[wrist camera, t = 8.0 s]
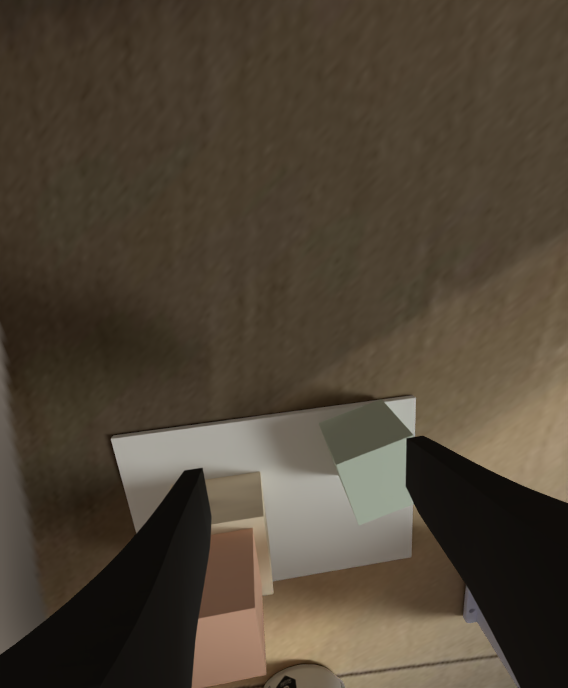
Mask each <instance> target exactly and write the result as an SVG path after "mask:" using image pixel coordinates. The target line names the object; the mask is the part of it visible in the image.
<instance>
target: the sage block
mask: <svg viewBox="0 0 568 688" xmlns="http://www.w3.org/2000/svg"><path fill="white" fill-rule="evenodd" d="M319 425H320V428H321V431H322V433H323V436H324V439H325V441H326V444H327V447H328V449H329V452H330V455H331V457H332V460H333V462H334V465H335V468H336V470H337V473H338V476H339V478H340V481H341V483H342V485H343V488H344V490H345V493H346V495H347V498H348V500H349V503H350V505H351V507H352V510H353V512H354V515H355V517H356V520H357V522H358V525H362V524H364V523H367V522H369V521H372V520H374V519H377V518H380V517H382V516H385V515H387V514H390V513H392V512H395V511H398V510H400V509H403V508H405V507H408V506H411V505H413V504H414V503H413V501H412V499H411V496H410V494H409V492H408V490H407V488H406V438H411V437H414V435H413V434H412V433H411V432H410V430H409V429H408V428H407V427H406V426H405V425H404V424H403V423H402V421H401V420H400V419H399V418H398V417H397V416H396V415H395V414H394V412H393V411H392V410H391V409H390V408H389V407H388V406H387V405H386V403H385V402H384V401H383V400H382V399H380V400H377V401H375V402H372V403H369V404H367V405H364V406H362V407H359V408H357V409H354V410H351V411H349V412H346V413H344V414H341V415H338V416H336V417H333V418H331V419H328V420H325V421H323V422H320V423H319Z"/></svg>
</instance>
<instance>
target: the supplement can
mask: <svg viewBox="0 0 568 688" xmlns="http://www.w3.org/2000/svg"><path fill="white" fill-rule="evenodd" d="M264 688H345V686H344V683H343V681H342V680H341V679H339V678H338V677H337V676H336V675H335V674H334V673H332V672H331V671H330V670H329V669H327V668H325V667H322V666H319V665H316V664H301V665H296V666H292V667H288V668H286V669H284V670H282V671H280V672H278V673H276V674H275V675H274V676H273V677H272V678H270V679H269V680H268V681H267V682H266V684H265V686H264Z"/></svg>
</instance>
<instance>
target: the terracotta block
mask: <svg viewBox="0 0 568 688" xmlns="http://www.w3.org/2000/svg"><path fill="white" fill-rule="evenodd" d="M263 675H267V673H266V654H265V635H264V616H263V597H262V583H261V577H260V571H259V565H258V558H257V552H256V546H255V540H254V534H253V528H249V529H243V530H238V531H232V532H226V533H220V534H214V535H211V542H210V552H209V558H208V564H207V570H206V576H205V582H204V588H203V594H202V600H201V606H200V612H199V618H198V625H197V633H196V640H195V652H194V664H193V677H192V688H205V687H210V686H215V685H220V684H224V683H229V682H234V681H239V680H244V679H249V678H253V677H258V676H263Z"/></svg>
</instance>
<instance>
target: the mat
mask: <svg viewBox="0 0 568 688" xmlns="http://www.w3.org/2000/svg"><path fill="white" fill-rule="evenodd" d="M382 400H383V401H384V402H385V403H386V405H387V406H388V407H389V408H390V409H391V410H392V411H393V412H394V414H395V415H396V416H397V417H398V418H399V419H400V420H401V421H402V423H403V424H404V425H405V426H406V427H407V428H408V429H409V430H410V432H411V433H412V434H413V435H414V437H415V410H416V397H415V396H413V395H411V396H403V397H396V398H388V399H382ZM375 401H377V400H373V401H366V402H359V403H351V404H344V405H336V406H329V407H321V408H314V409H306V410H299V411H292V412H284V413H277V414H269V415H262V416H254V417H247V418H240V419H232V420H225V421H217V422H210V423H202V424H195V425H187V426H180V427H173V428H165V429H158V430H150V431H143V432H135V433H128V434H120V435H113V436H112V438H111V442H112V445H113V449H114V453H115V456H116V460H117V464H118V467H119V471H120V475H121V479H122V482H123V486H124V490H125V493H126V497H127V501H128V504H129V508H130V512H131V515H132V519H133V523H134V527H135V530H136V533H137V532H138V531H139V530H140V529H141V527H142V526H143V525H144V524H145V523H146V521H147V520H148V519H149V518H150V516H151V515H152V514H153V512H154V511H155V510H156V508H157V507H158V506H159V505H160V503H161V502H162V501H163V499H164V498H165V496H166V495H167V494H168V492H169V490H170V487H171V485H173V484H175V482H176V481H177V480H178V478H179V477H180V475H181V474H182V473H183V472H184V470H190V469H197V468H203V472H204V478H205V480H207V479H213V478H220V477H227V476H234V475H240V474H247V473H254V472H260V473H261V480H262V488H263V496H264V504H265V512H266V519H267V527H268V535H269V544H270V556H271V568H272V580H273V581H278V580H284V579H290V578H296V577H301V576H307V575H313V574H318V573H324V572H330V571H335V570H341V569H347V568H353V567H358V566H364V565H370V564H375V563H381V562H387V561H392V560H398V559H404V558H410V557H411V556H412V520H413V505H411V506H408V507H405V508H403V509H400V510H398V511H395V512H392V513H390V514H387V515H385V516H382V517H380V518H377V519H374V520H372V521H369V522H367V523H364V524H362V525H358V522H357V520H356V517H355V515H354V512H353V510H352V507H351V505H350V503H349V500H348V498H347V495H346V493H345V490H344V488H343V485H342V483H341V481H340V478H339V476H338V473H337V470H336V468H335V465H334V462H333V460H332V457H331V455H330V452H329V449H328V447H327V444H326V441H325V439H324V436H323V433H322V431H321V428H320V425H319V423H320V422H323V421H325V420H328V419H331V418H333V417H336V416H338V415H341V414H344V413H346V412H349V411H351V410H354V409H357V408H359V407H362V406H364V405H367V404H369V403H372V402H375Z"/></svg>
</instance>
